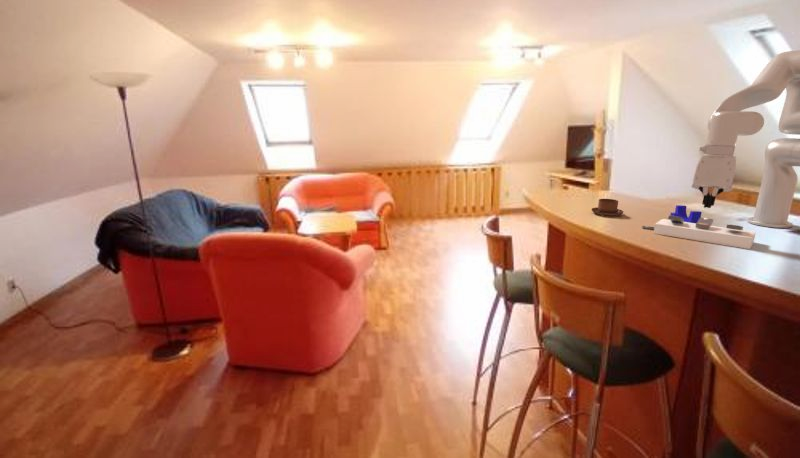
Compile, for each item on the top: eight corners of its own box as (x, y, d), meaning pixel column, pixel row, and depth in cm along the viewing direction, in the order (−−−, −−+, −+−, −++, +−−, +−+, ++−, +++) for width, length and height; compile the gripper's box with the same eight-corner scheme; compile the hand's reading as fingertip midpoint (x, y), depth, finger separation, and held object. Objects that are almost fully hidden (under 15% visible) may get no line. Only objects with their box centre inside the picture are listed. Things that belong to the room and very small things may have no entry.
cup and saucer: (594, 210, 179) (595, 196, 177) (624, 213, 172) (626, 199, 170) (588, 215, 169) (589, 201, 168) (620, 219, 163) (622, 204, 161)
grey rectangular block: (728, 228, 133) (729, 224, 133) (742, 230, 131) (743, 226, 130) (726, 228, 129) (727, 224, 129) (740, 230, 126) (741, 226, 126)
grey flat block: (671, 221, 144) (672, 217, 144) (683, 223, 142) (684, 219, 141) (668, 218, 140) (669, 215, 140) (680, 220, 137) (681, 216, 137)
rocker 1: (699, 220, 138) (700, 217, 138) (712, 222, 136) (713, 218, 135) (695, 227, 135) (695, 223, 134) (708, 229, 132) (709, 225, 132)
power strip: (645, 225, 152) (647, 216, 151) (753, 242, 131) (755, 231, 130) (637, 230, 145) (639, 221, 144) (749, 249, 124) (752, 238, 123)
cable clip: (669, 220, 161) (672, 205, 160) (681, 220, 161) (684, 205, 159) (685, 227, 150) (688, 211, 148) (698, 228, 149) (701, 212, 148)
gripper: (688, 150, 133) (678, 205, 138) (747, 153, 123) (734, 212, 127) (693, 149, 138) (683, 202, 143) (750, 152, 128) (737, 209, 132)
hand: (707, 207), depth 135 cm, fingers closed
